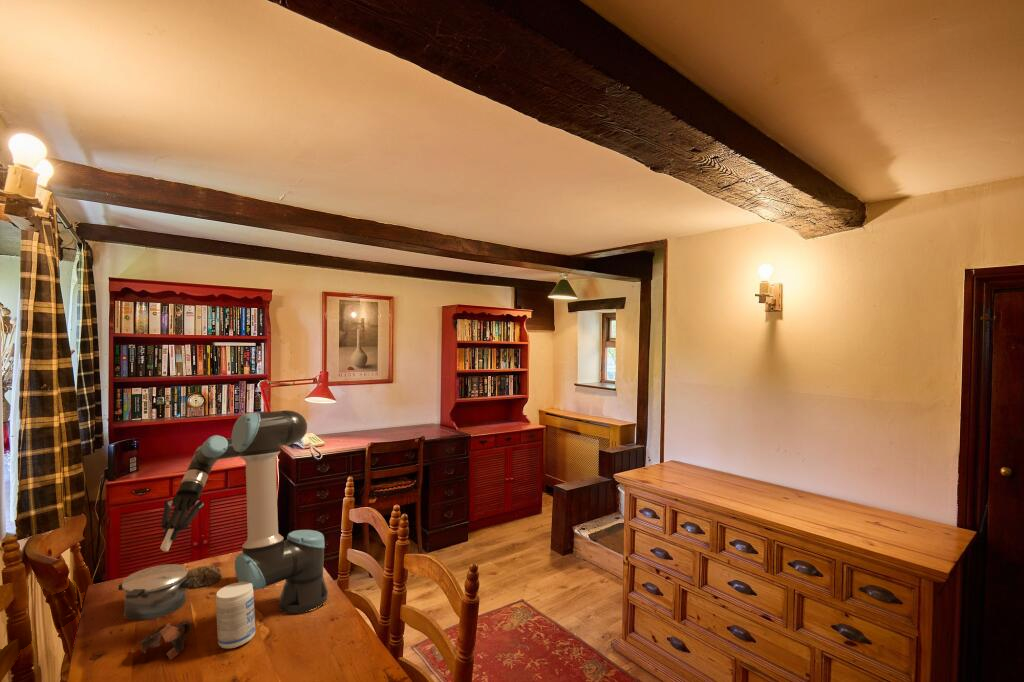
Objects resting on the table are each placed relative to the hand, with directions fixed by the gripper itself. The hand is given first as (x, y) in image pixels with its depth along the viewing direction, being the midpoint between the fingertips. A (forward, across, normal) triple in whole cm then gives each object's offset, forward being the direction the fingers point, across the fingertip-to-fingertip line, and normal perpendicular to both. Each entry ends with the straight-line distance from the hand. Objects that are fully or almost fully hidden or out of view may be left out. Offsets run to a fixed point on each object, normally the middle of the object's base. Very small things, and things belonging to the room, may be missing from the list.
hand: (164, 549), depth 159 cm
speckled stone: (+2, -6, -23) cm, 24 cm away
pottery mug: (+32, -16, +7) cm, 37 cm away
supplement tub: (+30, -33, +5) cm, 45 cm away
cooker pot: (+14, 0, -10) cm, 17 cm away
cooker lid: (+10, 0, -2) cm, 10 cm away
